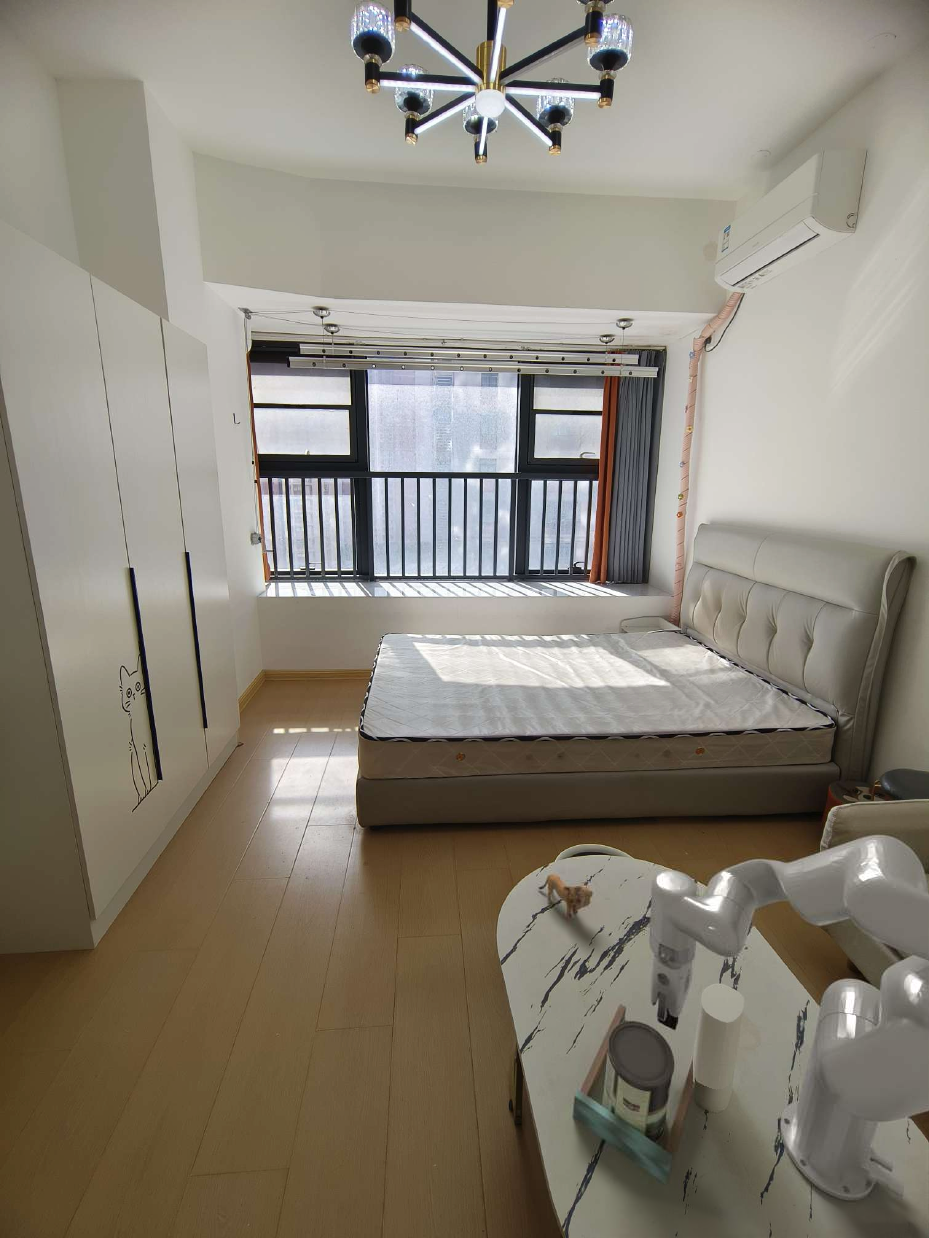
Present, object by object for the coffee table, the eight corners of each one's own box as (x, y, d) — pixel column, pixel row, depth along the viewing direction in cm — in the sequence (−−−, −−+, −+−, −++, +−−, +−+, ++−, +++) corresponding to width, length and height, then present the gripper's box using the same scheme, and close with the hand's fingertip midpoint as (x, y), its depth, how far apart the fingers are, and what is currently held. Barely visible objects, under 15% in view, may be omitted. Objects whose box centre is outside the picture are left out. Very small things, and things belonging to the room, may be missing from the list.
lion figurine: (594, 915, 131) (596, 885, 129) (582, 929, 128) (584, 898, 125) (544, 884, 141) (545, 855, 138) (531, 895, 137) (533, 866, 135)
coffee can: (655, 1080, 97) (663, 1021, 93) (673, 1151, 87) (683, 1088, 83) (596, 1077, 97) (602, 1018, 93) (608, 1147, 87) (615, 1085, 83)
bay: (700, 1063, 99) (704, 1043, 98) (666, 1184, 83) (669, 1162, 82) (618, 1015, 108) (620, 995, 107) (572, 1116, 92) (574, 1095, 90)
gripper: (683, 983, 87) (677, 1070, 92) (705, 921, 99) (699, 1000, 103) (636, 961, 91) (633, 1045, 96) (663, 904, 103) (659, 981, 108)
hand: (667, 1022), depth 100 cm, fingers closed
